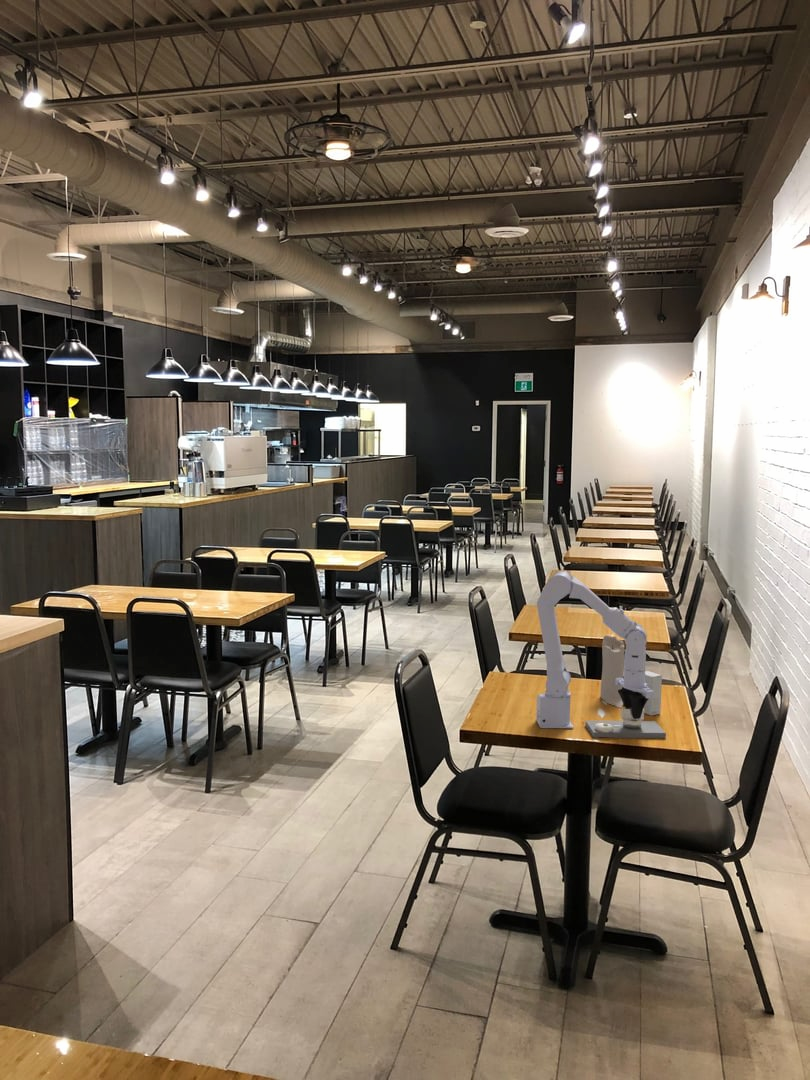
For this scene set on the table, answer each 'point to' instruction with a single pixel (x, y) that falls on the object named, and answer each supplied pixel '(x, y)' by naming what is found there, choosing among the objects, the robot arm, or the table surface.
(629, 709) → the knob
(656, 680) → the skincare box
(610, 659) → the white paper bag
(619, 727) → the base
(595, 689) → the table surface
